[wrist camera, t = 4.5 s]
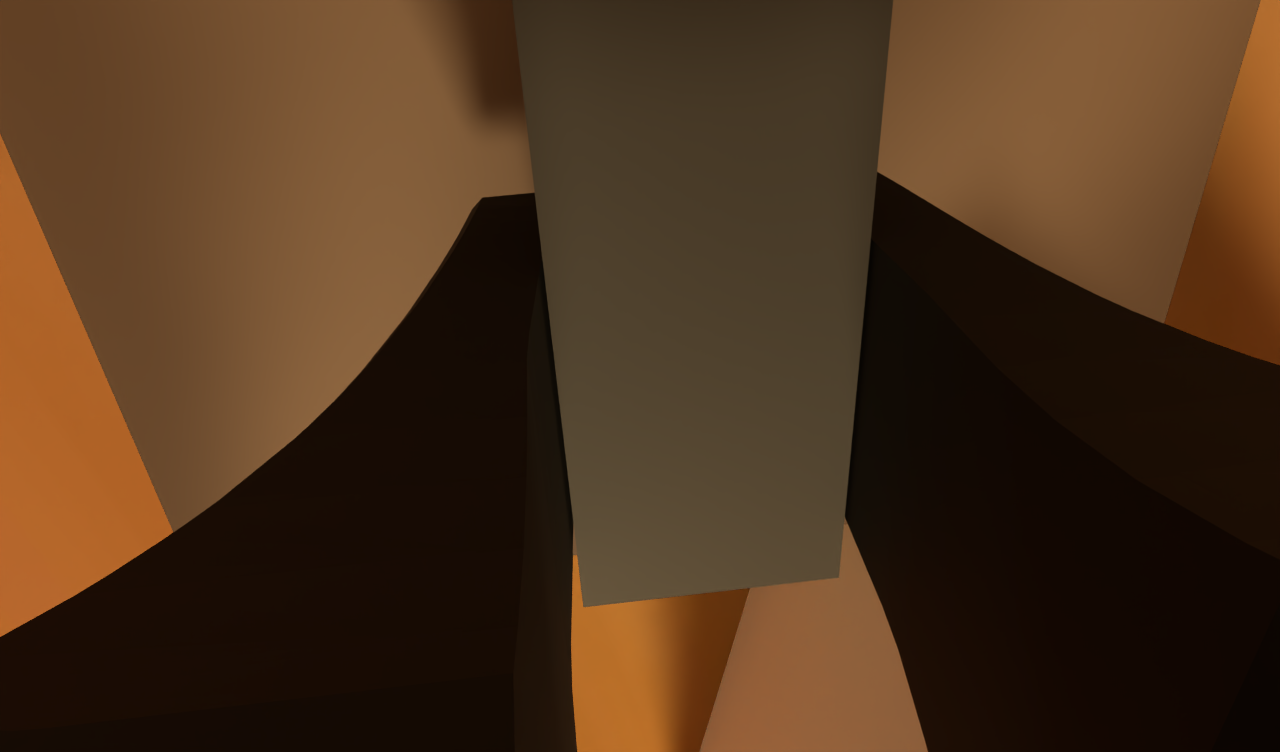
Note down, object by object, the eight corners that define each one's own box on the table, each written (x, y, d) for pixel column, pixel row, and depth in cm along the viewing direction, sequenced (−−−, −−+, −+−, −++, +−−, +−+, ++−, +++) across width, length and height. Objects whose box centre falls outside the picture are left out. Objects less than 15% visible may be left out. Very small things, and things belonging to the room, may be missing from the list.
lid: (213, 554, 16) (124, 876, 12) (-304, -707, 8) (-1063, -953, 4) (1089, 458, 16) (1269, 731, 13) (1426, -783, 9) (2177, -1049, 5)
